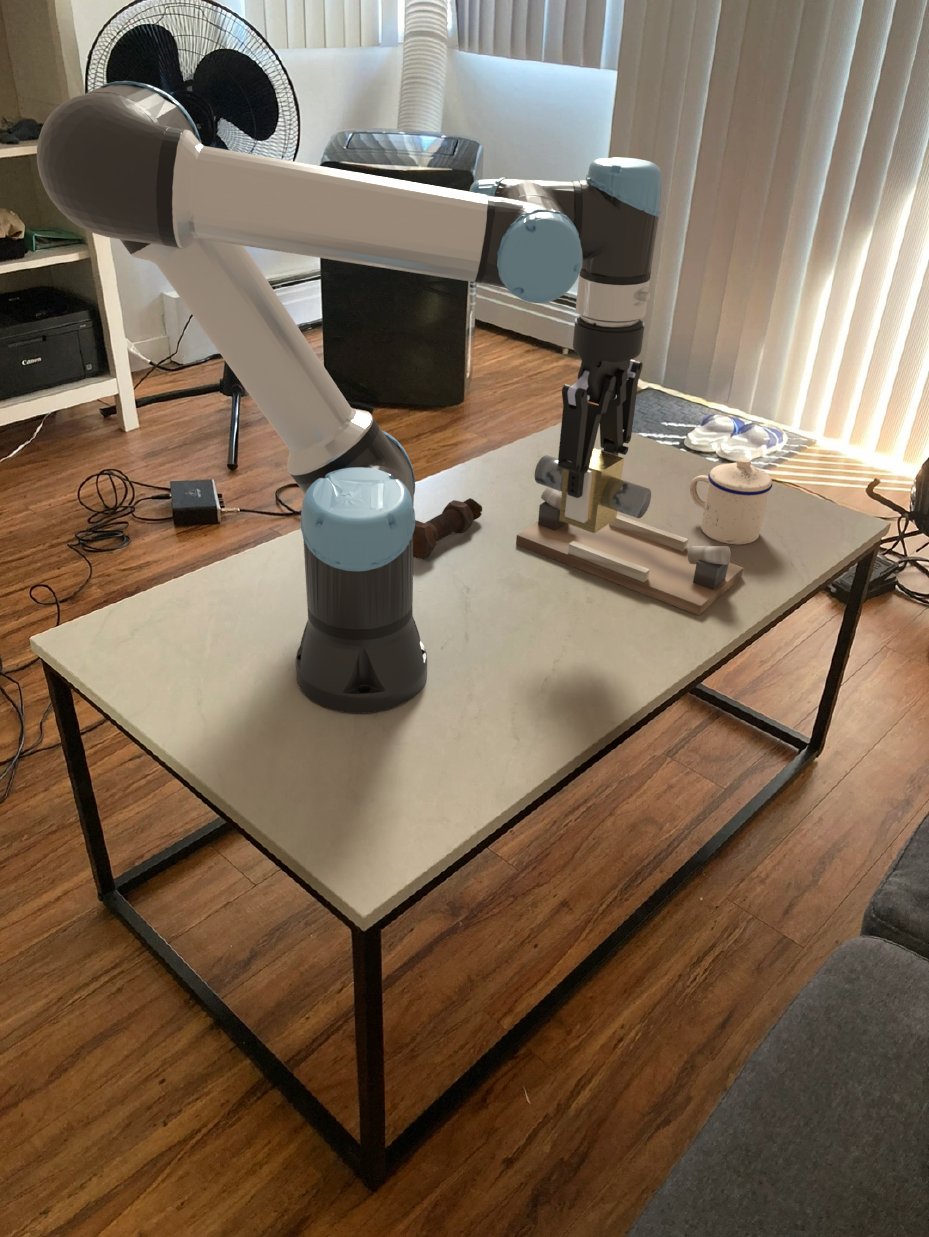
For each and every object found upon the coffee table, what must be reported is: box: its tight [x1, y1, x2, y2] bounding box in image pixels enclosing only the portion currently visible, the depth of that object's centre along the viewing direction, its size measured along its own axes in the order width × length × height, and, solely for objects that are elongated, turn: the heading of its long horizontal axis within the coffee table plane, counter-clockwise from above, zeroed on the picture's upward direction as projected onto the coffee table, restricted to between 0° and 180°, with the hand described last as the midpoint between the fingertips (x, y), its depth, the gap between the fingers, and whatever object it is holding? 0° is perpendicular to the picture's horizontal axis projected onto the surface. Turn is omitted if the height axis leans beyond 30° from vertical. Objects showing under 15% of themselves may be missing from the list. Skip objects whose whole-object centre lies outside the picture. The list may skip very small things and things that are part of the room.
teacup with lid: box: [689, 457, 773, 545], centre depth 145 cm, size 12×9×12 cm
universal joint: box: [534, 448, 652, 533], centre depth 118 cm, size 5×14×8 cm, turn 52°
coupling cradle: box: [515, 486, 744, 616], centre depth 137 cm, size 13×29×7 cm, turn 52°
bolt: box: [413, 498, 483, 560], centre depth 142 cm, size 6×5×15 cm
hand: (588, 509), depth 119 cm, fingers closed on universal joint, 5 cm apart
